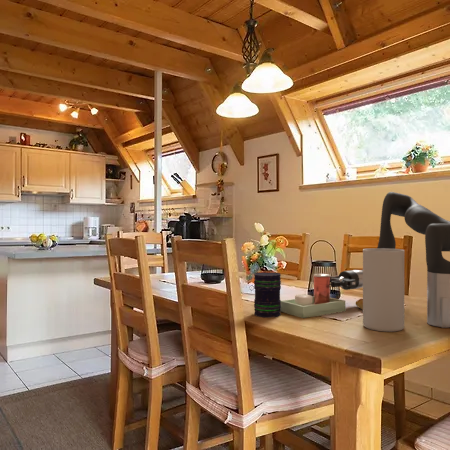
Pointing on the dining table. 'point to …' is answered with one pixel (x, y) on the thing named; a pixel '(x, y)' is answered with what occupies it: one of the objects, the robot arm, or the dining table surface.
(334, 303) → the green tray
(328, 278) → the tin
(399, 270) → the cylinder vase
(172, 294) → the dining table surface
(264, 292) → the storage jar
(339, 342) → the dining table surface
